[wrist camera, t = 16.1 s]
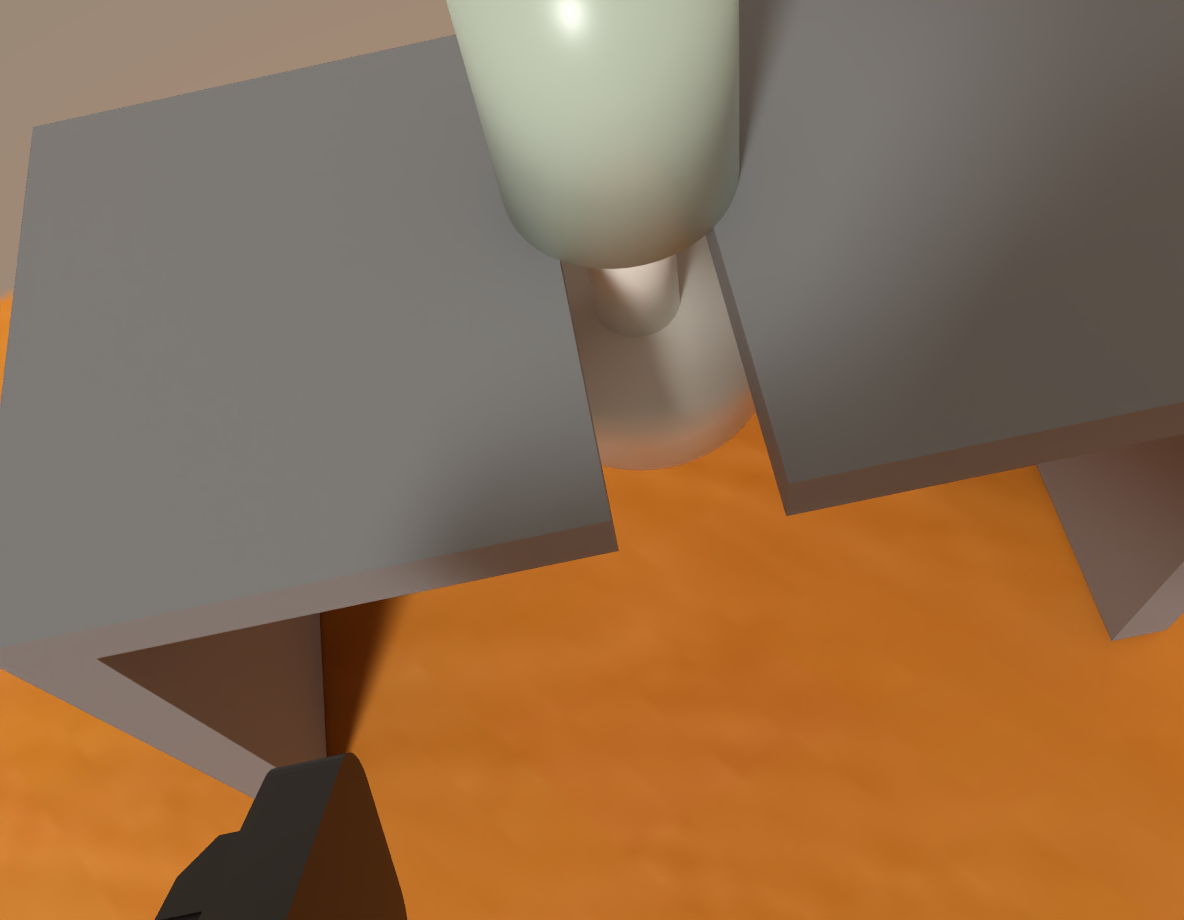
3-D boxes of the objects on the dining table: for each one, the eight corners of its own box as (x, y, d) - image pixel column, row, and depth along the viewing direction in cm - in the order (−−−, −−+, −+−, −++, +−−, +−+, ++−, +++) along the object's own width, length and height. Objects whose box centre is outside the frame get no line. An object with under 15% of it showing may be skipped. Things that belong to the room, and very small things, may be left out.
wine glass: (545, 495, 21) (393, 68, 12) (506, 292, 23) (356, -191, 14) (800, 438, 21) (845, -37, 12) (734, 240, 23) (730, -281, 14)
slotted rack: (276, 809, 24) (-29, 653, 15) (266, 430, 29) (33, 127, 20) (1166, 630, 24) (1453, 346, 14) (1004, 275, 29) (1137, -116, 19)
